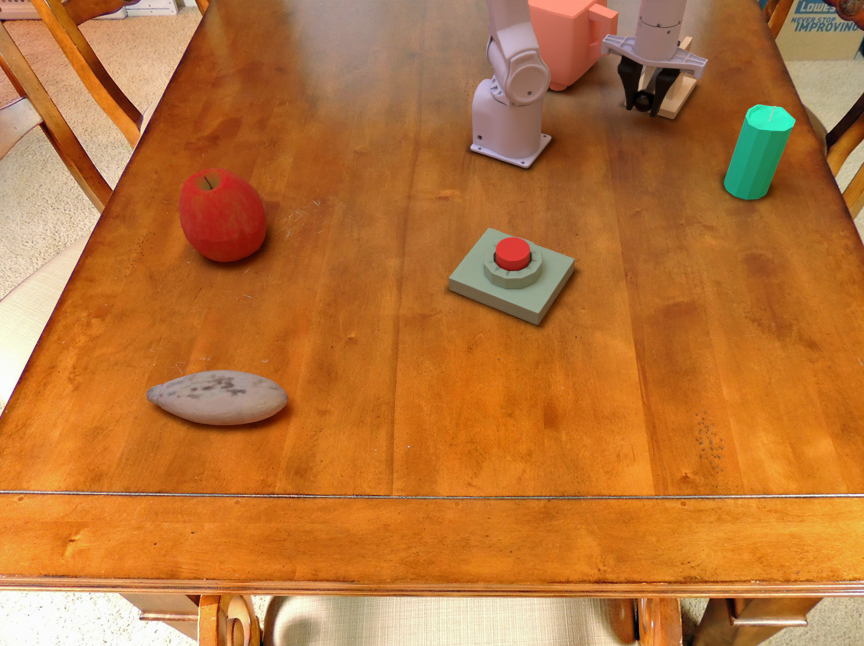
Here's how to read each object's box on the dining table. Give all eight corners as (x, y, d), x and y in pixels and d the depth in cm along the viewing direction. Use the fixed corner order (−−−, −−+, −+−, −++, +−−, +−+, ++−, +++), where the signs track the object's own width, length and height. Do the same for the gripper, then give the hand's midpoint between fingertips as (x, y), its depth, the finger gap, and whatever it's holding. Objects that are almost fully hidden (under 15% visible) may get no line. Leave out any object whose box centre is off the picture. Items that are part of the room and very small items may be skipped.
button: (489, 264, 80) (489, 253, 79) (505, 243, 82) (505, 232, 81) (519, 276, 79) (520, 265, 78) (535, 254, 81) (535, 243, 80)
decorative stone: (161, 380, 76) (148, 362, 73) (299, 383, 75) (291, 365, 72) (143, 427, 72) (129, 410, 69) (287, 431, 72) (279, 413, 69)
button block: (449, 290, 83) (447, 266, 80) (488, 239, 88) (488, 215, 85) (537, 325, 79) (539, 302, 76) (573, 271, 84) (576, 247, 81)
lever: (650, 119, 100) (651, 104, 97) (629, 113, 101) (629, 98, 98) (682, 55, 102) (684, 39, 99) (661, 50, 103) (663, 34, 100)
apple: (256, 206, 93) (231, 139, 84) (286, 249, 88) (264, 183, 79) (182, 235, 89) (149, 169, 81) (210, 282, 84) (178, 217, 76)
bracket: (673, 119, 103) (686, 63, 96) (623, 105, 105) (632, 50, 98) (695, 86, 108) (709, 31, 101) (647, 73, 110) (657, 18, 103)
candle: (769, 202, 91) (801, 123, 82) (723, 197, 92) (750, 118, 82) (767, 174, 95) (798, 95, 85) (723, 169, 96) (749, 90, 86)
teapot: (470, 66, 112) (467, -25, 101) (511, 33, 118) (513, -57, 107) (587, 108, 105) (598, 14, 93) (625, 70, 111) (640, -23, 99)
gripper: (724, 15, 89) (699, 109, 100) (620, -9, 93) (607, 84, 104) (706, 41, 86) (683, 135, 97) (600, 14, 90) (589, 107, 101)
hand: (642, 110), depth 100 cm, fingers closed on lever, 3 cm apart
